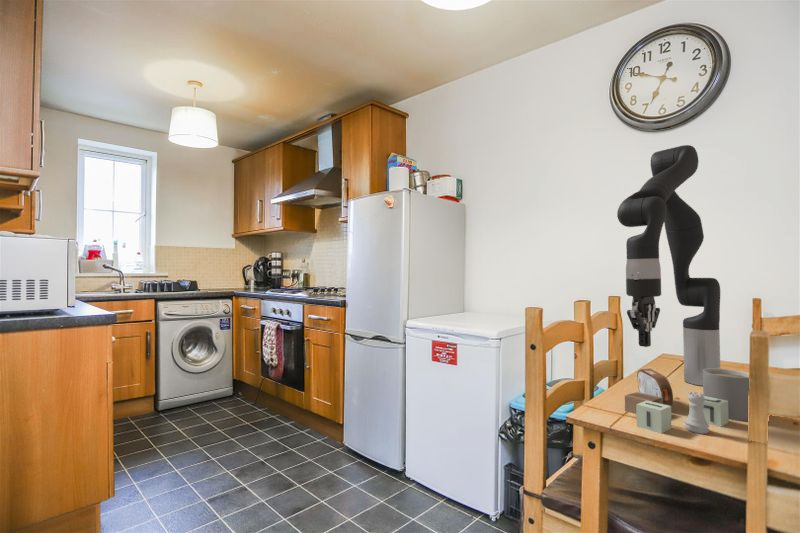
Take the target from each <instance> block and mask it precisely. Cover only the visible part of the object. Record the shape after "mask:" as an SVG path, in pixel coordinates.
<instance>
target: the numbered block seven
mask: <svg viewBox="0 0 800 533" xmlns="http://www.w3.org/2000/svg"><path fill="white" fill-rule="evenodd" d="M703 397H704V398H705V399H706V400H705V401H704V402H703V405H704V407H703V412H704V417H705V420H706V422H707V423H708V425H712V426H714V427H715V426H716V427H720V428H721V427H723V426H725V425H727V424H728V423H730V422H729V420H730V419H729V417H728V401H727V400H722V399H717V398H712V397H707V396H703Z"/></svg>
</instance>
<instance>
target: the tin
mask: <svg viewBox="0 0 800 533" xmlns="http://www.w3.org/2000/svg"><path fill="white" fill-rule="evenodd" d="M636 377H637V387H638V388H637V389H638V392H640V393H644V394H649V395H653V396H657V397H662V398H663V404H664V405H668V406H671V407H673V402H674V394H673V389H672V386H671V383H670V381H669V379H668V378H667V377H666V376H665V375H664V374H663V373H660V372H658V371H656V370H654V369H652V368H640V369H639V370H637V374H636Z"/></svg>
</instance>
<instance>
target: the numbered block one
mask: <svg viewBox="0 0 800 533" xmlns="http://www.w3.org/2000/svg"><path fill="white" fill-rule="evenodd" d="M636 427H637V428H641V429H643V430H648V431H651V432H654V433H658V434H664V433H665V432H668V431H670V430H671V429H672V406H668V405H664V404H660V403H656V402H651V401H644V402H641V403H639V404H636Z"/></svg>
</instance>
